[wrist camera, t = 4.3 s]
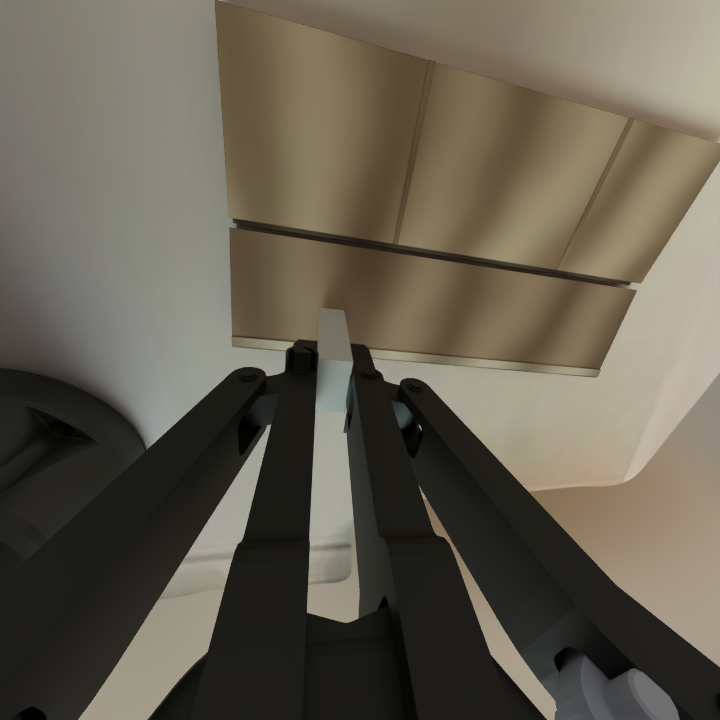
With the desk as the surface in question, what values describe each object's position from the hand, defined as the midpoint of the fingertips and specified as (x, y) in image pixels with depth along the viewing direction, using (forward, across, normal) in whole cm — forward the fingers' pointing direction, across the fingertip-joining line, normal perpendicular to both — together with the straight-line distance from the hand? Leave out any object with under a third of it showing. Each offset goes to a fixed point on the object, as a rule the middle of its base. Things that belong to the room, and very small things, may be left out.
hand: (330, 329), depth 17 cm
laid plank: (+2, +8, +9) cm, 12 cm away
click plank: (+2, +8, +1) cm, 8 cm away
